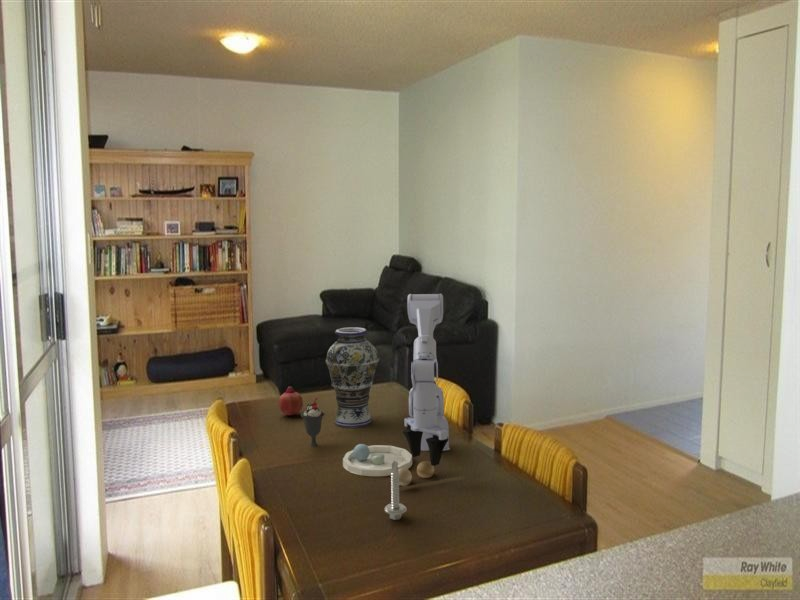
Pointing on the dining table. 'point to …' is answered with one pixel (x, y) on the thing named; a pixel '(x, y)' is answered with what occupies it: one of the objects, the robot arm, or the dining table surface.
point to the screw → (395, 495)
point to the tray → (378, 468)
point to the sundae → (313, 421)
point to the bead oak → (425, 469)
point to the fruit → (290, 402)
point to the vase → (352, 376)
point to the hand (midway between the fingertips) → (425, 460)
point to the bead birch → (404, 477)
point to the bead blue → (361, 452)
